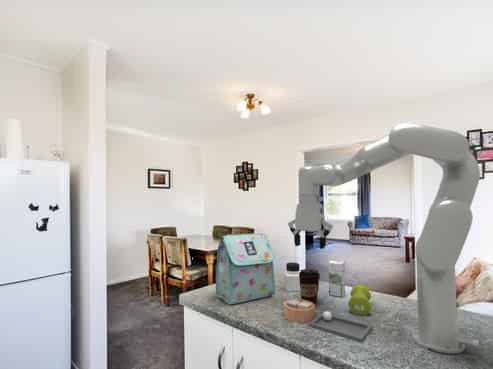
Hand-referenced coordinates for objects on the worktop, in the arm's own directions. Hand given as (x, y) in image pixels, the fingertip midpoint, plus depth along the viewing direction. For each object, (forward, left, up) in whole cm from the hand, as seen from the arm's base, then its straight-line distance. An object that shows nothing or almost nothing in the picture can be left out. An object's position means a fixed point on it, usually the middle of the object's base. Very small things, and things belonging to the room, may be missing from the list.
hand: (309, 247), depth 104 cm
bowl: (+2, +5, -24) cm, 25 cm away
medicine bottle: (+19, -22, -24) cm, 38 cm away
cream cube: (0, +5, -24) cm, 24 cm away
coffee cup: (+5, -10, -24) cm, 27 cm away
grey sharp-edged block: (+4, +5, -24) cm, 24 cm away
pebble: (-7, +2, -24) cm, 25 cm away
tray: (-13, +5, -24) cm, 28 cm away
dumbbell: (-13, -17, -25) cm, 32 cm away
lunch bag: (+30, 0, -24) cm, 39 cm away
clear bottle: (0, -27, -24) cm, 36 cm away
